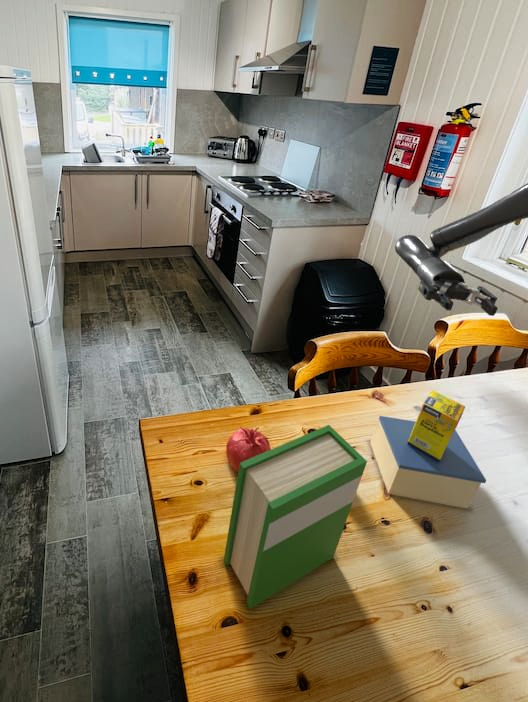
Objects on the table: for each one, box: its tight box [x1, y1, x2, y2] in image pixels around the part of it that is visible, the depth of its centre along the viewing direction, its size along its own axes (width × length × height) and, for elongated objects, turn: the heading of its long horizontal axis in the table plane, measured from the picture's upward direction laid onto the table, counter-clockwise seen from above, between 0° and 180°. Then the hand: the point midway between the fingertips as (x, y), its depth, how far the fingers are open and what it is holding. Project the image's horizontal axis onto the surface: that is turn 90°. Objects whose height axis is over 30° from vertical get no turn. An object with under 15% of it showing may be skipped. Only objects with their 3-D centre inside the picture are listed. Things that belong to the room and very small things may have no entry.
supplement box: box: [407, 389, 466, 462], centre depth 78 cm, size 6×6×11 cm
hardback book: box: [223, 424, 368, 610], centre depth 63 cm, size 18×7×24 cm, turn 116°
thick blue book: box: [370, 418, 482, 510], centre depth 82 cm, size 15×13×8 cm
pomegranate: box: [225, 426, 272, 473], centre depth 83 cm, size 10×10×9 cm
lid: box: [378, 415, 487, 484], centre depth 80 cm, size 15×13×1 cm
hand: (472, 309), depth 85 cm, fingers open, 8 cm apart
